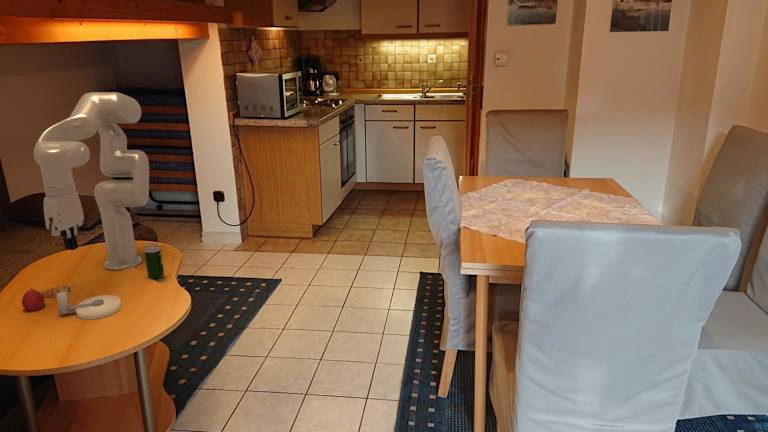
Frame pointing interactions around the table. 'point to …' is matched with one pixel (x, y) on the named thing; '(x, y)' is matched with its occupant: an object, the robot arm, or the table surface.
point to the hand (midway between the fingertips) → (71, 248)
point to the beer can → (154, 262)
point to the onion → (33, 300)
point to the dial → (90, 306)
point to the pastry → (55, 291)
